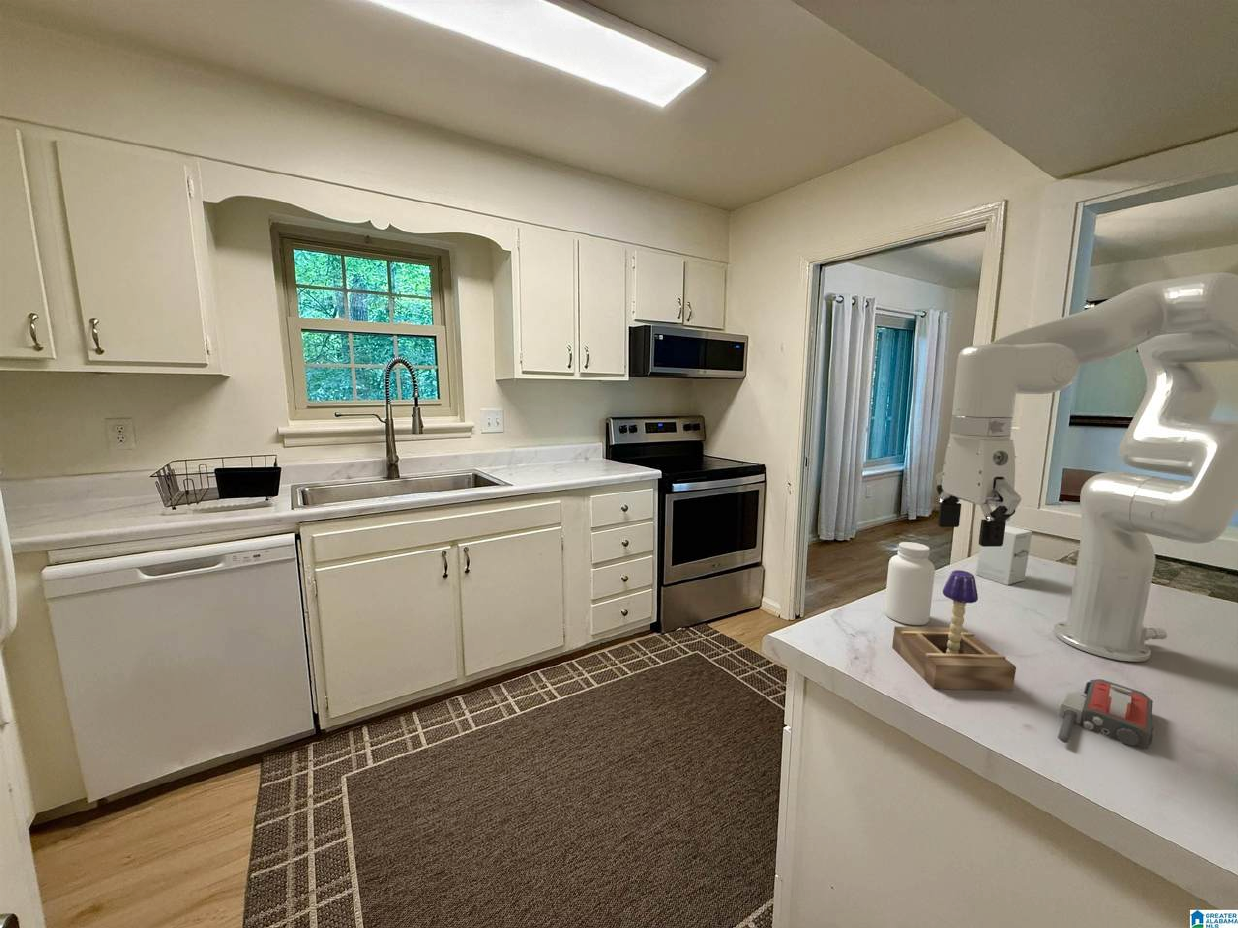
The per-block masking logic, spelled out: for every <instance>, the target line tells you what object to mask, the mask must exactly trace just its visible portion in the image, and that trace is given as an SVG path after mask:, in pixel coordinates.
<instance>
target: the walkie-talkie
mask: <svg viewBox="0 0 1238 928" xmlns="http://www.w3.org/2000/svg"><path fill="white" fill-rule="evenodd" d="M1059 716H1060V717H1062V718H1063V720H1062V723H1061V726H1060V729H1059V733H1058V736H1057V738H1058V739H1059V740H1060V742H1062V743H1064V744H1066V743H1067V744H1068V742H1069V741H1070V737H1071V733H1072V730H1073V726H1074V723H1077V724H1080V725H1081V726H1082V727H1083V728H1085V729H1086V730H1089V731H1090V730H1092V731H1095V732H1097V733H1100V734H1102V735H1104V736H1107V737H1110V738H1112V739H1115V740H1118V741H1120V742H1122V743H1123V744H1124V745H1127V746H1128V745H1129V746H1131V747H1132V746H1134V747H1137V748H1138V749H1142V750H1143V751H1144V750H1149V745H1151V744H1152V741H1153V729H1154V726H1153V725H1152V722H1153V719H1152V717H1153V699H1151V698H1150V697H1149V696H1148V695H1147V694H1145V693H1144V692H1142V691H1139V690H1136V689H1132V688H1130V687H1126V686H1124V685H1122V684H1118V683H1115V682H1112V681H1108V680H1105V679H1101V678H1099V679H1091V680H1090V681H1088V682H1086V684H1085V687H1084V692H1068V693H1066V695H1065V698H1064V700H1063V701H1062V702H1061V706H1060V711H1059Z"/></svg>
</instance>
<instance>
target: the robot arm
mask: <svg viewBox="0 0 1238 928" xmlns="http://www.w3.org/2000/svg"><path fill="white" fill-rule="evenodd" d="M1135 347H1136V348H1137V351H1138V355H1139V356H1140V359H1141V363H1142V365H1143V369H1144V372H1145V375H1146V376H1145V377H1146V382H1147V385H1146V392H1145V394H1144V397H1143V398H1142V401H1141V403H1140V405H1139V406H1138V409H1137V411H1136V413H1135V414H1134V416H1133V418H1132V420H1131V422H1130V423H1129V426H1128V428H1126V431H1125V433H1124V435H1123V437H1122V439H1121V441H1120V444H1119V447H1118V457H1119V460H1121V462H1122V463H1124V464H1125V465H1127V466H1129V467H1131V468H1134V469H1138V470H1144V471H1149V472H1155V473H1163V474H1168V475H1176V476H1181V477H1182V476H1183V477H1188V478H1189V477H1190V478H1191V480H1190V481H1188V480H1187V481H1186V480H1181V479H1180V480H1179V479H1172V478H1168V477H1167V478H1166V477H1161V476H1155V475H1148V474H1147V475H1146V474H1141V473H1133V472H1125V471H1124V472H1123V471H1108V472H1101V473H1098V474H1095V475H1093V476H1091V477H1090V478H1088V480H1086V481H1085V483H1084V484H1083V486H1082V488H1081V489H1080V490H1081V491H1080V497H1079V500H1080V501H1079V502H1080V504H1079V505H1080V513H1081V534H1080V541H1079V549H1078V553H1077V554H1078V555H1077V561H1076V564H1075V571H1074V577H1073V583H1072V588H1071V596H1070V600H1069V606H1068V611H1067V617H1066V621H1060V622H1057V623H1055V625H1054V627H1053V632H1054V634H1055V636H1056V637H1057V638H1058V639H1060V641H1062V642H1064V643H1066V644H1068V645H1069V646H1072V647H1074V648H1076V649H1079V650H1081V651H1083V652H1086V653H1089V654H1092V655H1095V656H1098V657H1102V658H1105V659H1110V660H1115V661H1121V662H1131V663H1133V662H1134V663H1141V662H1146V661H1148V660H1149V659H1151V654H1152V653H1151V652H1152V650H1151V648H1150V647H1148V646H1147V645H1146V644H1145V642H1146V641H1148V640H1149V641H1150V640H1166V639H1167V637H1168V634H1167V631H1166V630H1165V629H1163V628H1160V627H1146V626H1144V620H1145V615H1146V610H1147V605H1148V599H1149V596H1150V590H1151V585H1152V581H1153V576H1154V571H1155V566H1156V553H1155V550H1154V547H1153V545H1152V543H1151V541H1150V539H1149V537H1148V535H1147V534H1149V535H1152V536H1156V537H1160V538H1166V539H1168V540H1169V539H1170V540H1175V541H1179V542H1184V543H1189V544H1207V543H1210V542H1213V541H1215V540H1217V539H1218V538H1220V537H1221V535H1223V533H1224V532H1225V531H1226V530H1227V528H1228V526H1229V525H1230V523H1231V522H1232V520H1233V519H1234V517H1235V514H1237V511H1238V421H1237V420H1232V419H1231V420H1229V419H1214V418H1213V419H1212V418H1211V417H1212V416H1213V413H1214V412H1215V409H1216V407H1217V405H1218V404H1219V401H1220V395H1221V394H1220V391H1219V388H1218V386H1217V385H1216V383H1215V382H1214V380H1213V379H1212V378H1211V377H1210V376H1209V375H1208V374H1207V373H1206V372H1205V370H1204V369H1203V368H1202V367H1201V366H1200V365H1199V363H1215V362H1216V363H1217V362H1219V363H1221V362H1222V363H1223V362H1238V274H1235V273H1231V272H1222V271H1220V272H1208V273H1203V274H1197V275H1190V276H1184V277H1176V278H1169V279H1163V280H1157V281H1150V282H1147V283H1143V284H1141V285H1137V286H1135V287H1132V288H1130V289H1128V290H1126V291H1124V292H1122V293H1120V294H1117V295H1115V296H1113V297H1111V298H1109V299H1107V300H1105V301H1102V302H1100V303H1098V304H1096V305H1094V306H1092V307H1090V308H1087V309H1085V310H1083V311H1080V312H1077V313H1073V314H1070V315H1066V316H1063V317H1059V318H1056V319H1054V320H1051V321H1048V322H1045V323H1041V324H1037V325H1036V326H1035V325H1034V326H1032V327H1027V328H1025V329H1021V330H1018V331H1016V332H1012V333H1010V334H1008V335H1005V336H1003V337H1000V338H998V339H996V340H994V341H992V342H989V343H988V344H981V345H980V344H979V345H972V346H967V347H964V348H963V349H961V351H960V352H959V353H958V357H957V362H956V372H955V382H954V391H953V401H952V410H951V412H952V413H951V421H950V431H949V439H948V443H947V445H946V451H945V456H944V459H943V460H944V461H943V466H942V467H943V468H942V470H941V471H939V472H937V473H935V482H936V485H937V486H936V491H937V493H938V496H937V497H938V498H937V499H938V502H939V511H938V517H937V518H938V521H937V525H938V527H940V528H958V527H959V526H960V520H961V514H962V513H961V511H962V503H959V502H960V501H961V500H962V501H965V502H968V503H971V504H974V505H978V506H979V508H980V509H981V512H982V515H983V516H984V519H981V520H980V528H979V534H978V535H979V536H978V537H979V538H978V545H979V546H980V545H981V546H983V547H1000V546H1002V545H1003V540H1004V532H1005V525H1006V523H1007V522H1009V521H1010V520H1011V517H1012V516H1013V515H1014V514H1015V513H1016V509H1017V508H1018V506H1019V505H1020V503H1021V501H1022V497H1021V495H1020V494H1019V493H1018V492H1017V491H1016V490H1015V484H1016V480H1015V479H1016V451H1015V443H1014V440H1013V439H1011V435H1012V428H1013V420H1014V417H1013V416H1014V411H1015V403H1016V395H1046V394H1052V393H1056V392H1059V391H1061V390H1064V389H1065V388H1067V387H1069V386H1070V385H1071V384H1072V383H1073V382H1074V380H1075V379H1076V378H1077V377H1078V374H1079V372H1080V367H1081V366H1083V365H1087V364H1093V363H1098V362H1101V361H1106V360H1109V359H1112V358H1115V357H1117V356H1119V355H1121V354H1123V353H1125V352H1127V351H1128V350H1131V349H1132V348H1135ZM992 507H995V509H994V510H992Z"/></svg>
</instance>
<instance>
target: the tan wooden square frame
mask: <svg viewBox="0 0 1238 928" xmlns="http://www.w3.org/2000/svg"><path fill="white" fill-rule="evenodd" d="M893 627H894V629H893V636H892V638H893V639H892V644H891V645H892V647H891V648H893V650H894V651H895V652H896V653H897V654H898V655H900V657H901V658H903V660H904V661H905V662H906V663H907V664H908V665H909V666H910V667H911V668H912V669H913V670H914V672H916V673H917V674H918V675H919V676H920V677H921V678H922V679H923V680H924V681H925V682H926V683H927V684H928V685H929V686H930V687H931V688H932V689H935V690H965V691H967V690H968V691H1000V692H1001V691H1005V692H1006V691H1007V692H1012V691H1014V685H1015V684H1014V683H1015V678H1016V671H1017V666H1016V665H1014V664H1013V663H1012V662H1010V661H1009V660H1008V659H1006V656H1005V655H1003V654H1000V653H998V652H997V651H995V650H994V649H993V648H991V647H990V646H988V645H987V644H986V643H984V642H983V641H982V640H980V639H979V638H977V636H975V633H973V632H970V631H968V630H967V629H966V628H964V627H963V631H962V633H961V636H962V638H961V641H960V649H959V650H958V652H959V654H946V650H947V649H948V646H947V643H948V640H949V638H948V635H949V632H950V627H940V626H939V627H938V626H937V627H936V626H935V627H932V626H931V627H929V626H893Z"/></svg>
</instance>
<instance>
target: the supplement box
mask: <svg viewBox="0 0 1238 928" xmlns="http://www.w3.org/2000/svg"><path fill="white" fill-rule="evenodd" d="M1032 535H1033V531H1032V530H1030V529H1029V530H1028V529H1026V528H1021V527H1015V526H1012V525H1006V524H1005V532H1004V540H1003V545H1002V546H1000V547H983V546H981V545H979V549H978V557H977V564H976V568H975V571H976V572H975V575H977V576H979V577H982V578H985V579H988V580H991V581H992V582H996V583H1000V584H1001V585H1006V586H1009V585H1011V584H1014V583H1015V584H1016V583H1019V582H1023V581H1025V580H1026V573H1027V567H1028V561H1029V555H1030V550H1031V541H1032Z"/></svg>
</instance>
